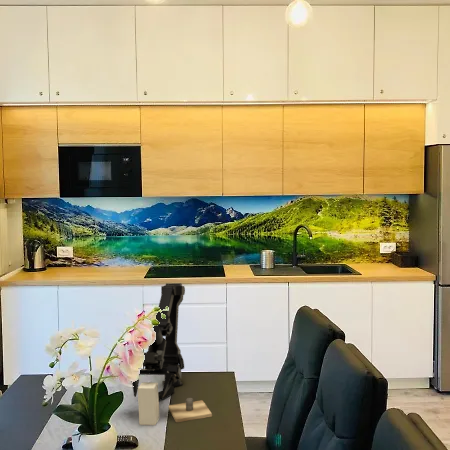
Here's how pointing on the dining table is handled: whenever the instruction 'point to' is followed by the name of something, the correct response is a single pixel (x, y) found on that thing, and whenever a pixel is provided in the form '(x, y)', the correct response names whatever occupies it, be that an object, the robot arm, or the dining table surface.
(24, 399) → the dining table surface
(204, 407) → the post stand
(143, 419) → the beige rectangular block
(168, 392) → the electric trimmer
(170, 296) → the robot arm
